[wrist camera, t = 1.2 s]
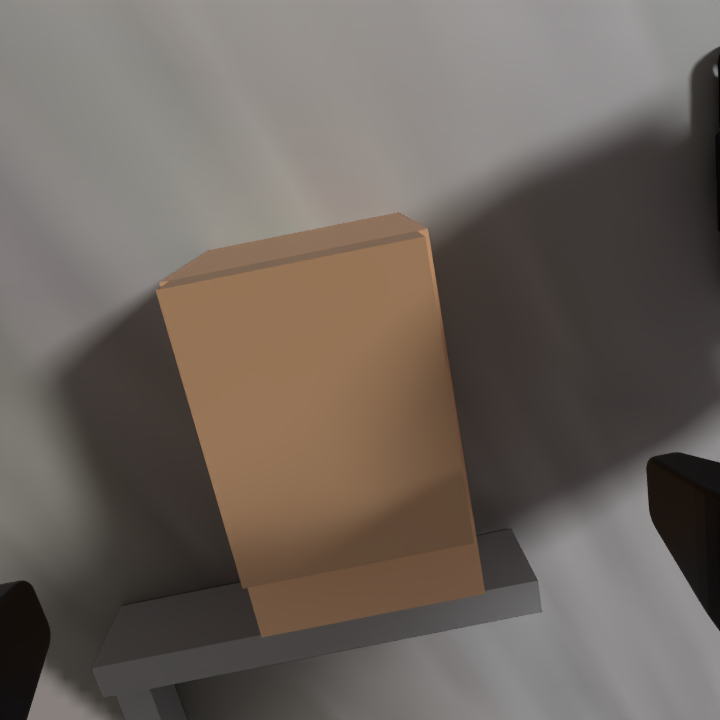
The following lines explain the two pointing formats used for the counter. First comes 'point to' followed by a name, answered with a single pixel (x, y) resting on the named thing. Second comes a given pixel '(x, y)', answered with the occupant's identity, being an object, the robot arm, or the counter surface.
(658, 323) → the counter surface
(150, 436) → the counter surface
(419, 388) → the brown cardboard carton
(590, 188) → the counter surface
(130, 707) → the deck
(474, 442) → the counter surface
